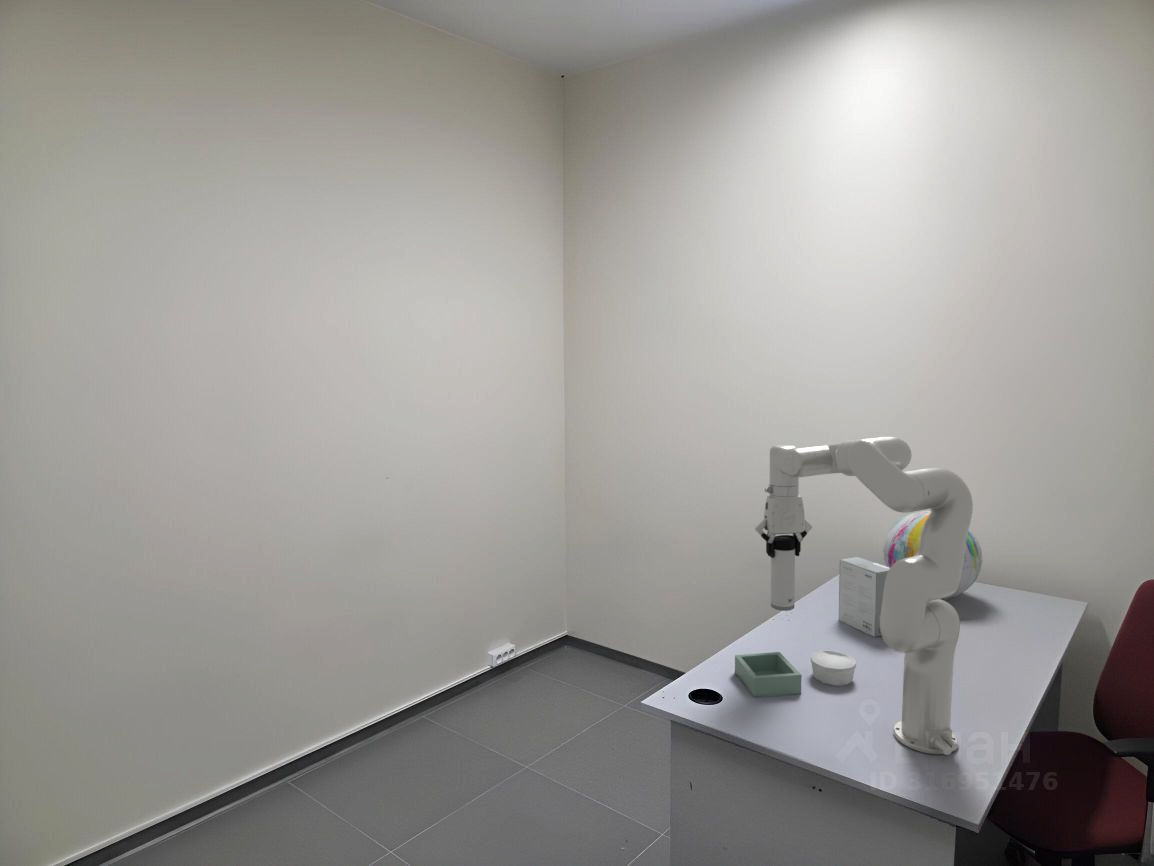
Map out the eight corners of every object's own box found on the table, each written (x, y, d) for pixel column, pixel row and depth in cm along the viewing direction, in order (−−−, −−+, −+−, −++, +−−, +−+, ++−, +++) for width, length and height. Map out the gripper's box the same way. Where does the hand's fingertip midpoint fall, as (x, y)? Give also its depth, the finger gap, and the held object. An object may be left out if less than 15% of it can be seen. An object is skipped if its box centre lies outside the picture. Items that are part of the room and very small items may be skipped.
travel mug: (797, 611, 186) (797, 539, 184) (771, 610, 187) (772, 538, 185) (794, 603, 192) (795, 533, 190) (769, 602, 193) (770, 532, 191)
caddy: (801, 693, 173) (801, 674, 172) (753, 697, 171) (753, 678, 171) (779, 669, 186) (779, 651, 186) (734, 673, 185) (734, 655, 184)
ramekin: (854, 671, 184) (855, 653, 184) (856, 691, 174) (857, 671, 173) (810, 666, 188) (811, 647, 187) (809, 684, 178) (810, 665, 177)
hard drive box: (894, 633, 208) (896, 569, 206) (874, 638, 205) (876, 573, 203) (855, 616, 222) (857, 555, 220) (837, 619, 219) (838, 558, 217)
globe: (863, 588, 247) (865, 506, 244) (930, 578, 256) (933, 499, 253) (928, 618, 219) (932, 526, 215) (1001, 606, 228) (1006, 517, 224)
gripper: (758, 495, 181) (758, 561, 183) (820, 492, 183) (820, 557, 185) (747, 489, 189) (747, 553, 191) (808, 486, 191) (807, 550, 193)
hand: (783, 555), depth 188 cm, fingers closed on travel mug, 6 cm apart
